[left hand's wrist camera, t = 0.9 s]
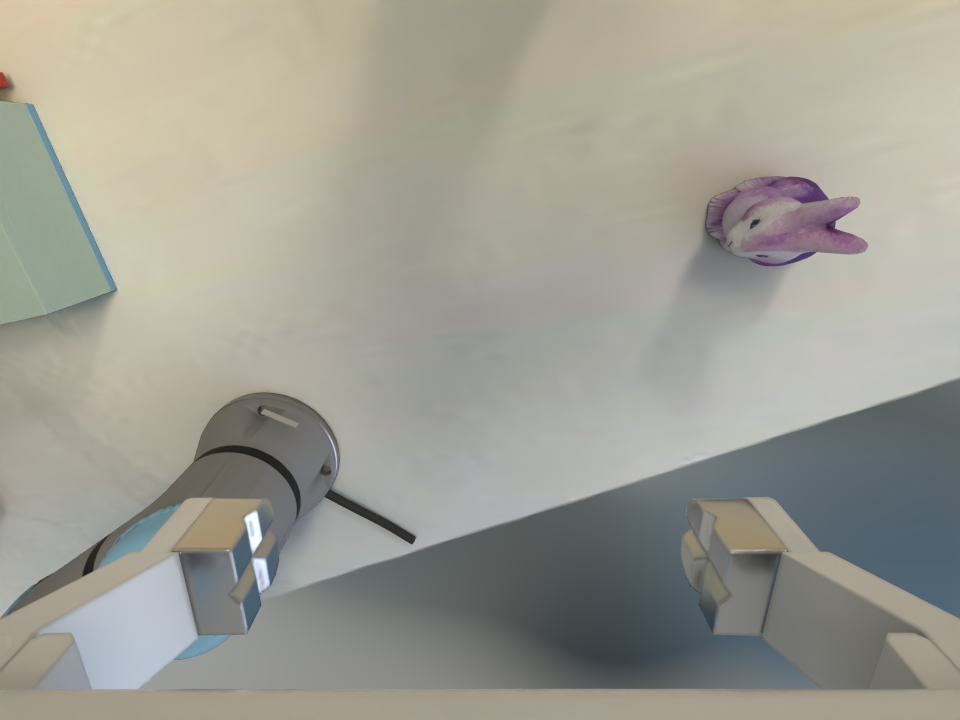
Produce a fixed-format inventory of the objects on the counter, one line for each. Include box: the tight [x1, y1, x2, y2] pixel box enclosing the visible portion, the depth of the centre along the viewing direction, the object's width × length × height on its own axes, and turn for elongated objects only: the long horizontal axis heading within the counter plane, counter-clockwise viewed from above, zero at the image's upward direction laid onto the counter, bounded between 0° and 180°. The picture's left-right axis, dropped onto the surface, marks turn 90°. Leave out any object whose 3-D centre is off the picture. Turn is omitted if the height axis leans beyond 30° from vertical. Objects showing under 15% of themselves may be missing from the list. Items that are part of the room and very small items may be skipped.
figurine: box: [706, 176, 868, 266], centre depth 47 cm, size 9×10×15 cm
